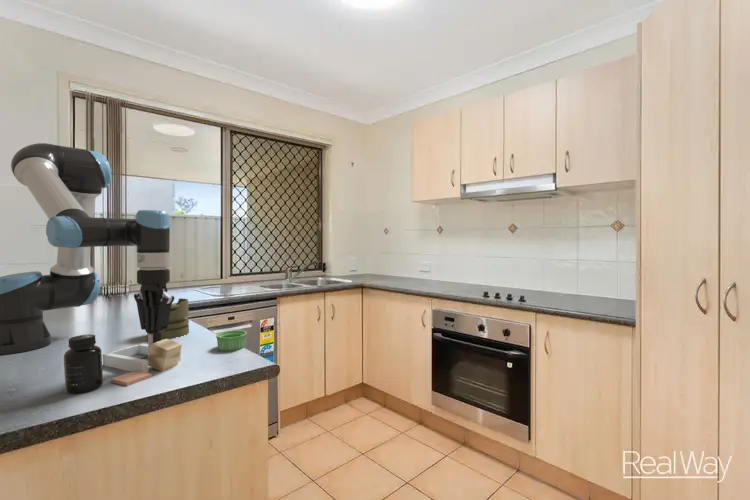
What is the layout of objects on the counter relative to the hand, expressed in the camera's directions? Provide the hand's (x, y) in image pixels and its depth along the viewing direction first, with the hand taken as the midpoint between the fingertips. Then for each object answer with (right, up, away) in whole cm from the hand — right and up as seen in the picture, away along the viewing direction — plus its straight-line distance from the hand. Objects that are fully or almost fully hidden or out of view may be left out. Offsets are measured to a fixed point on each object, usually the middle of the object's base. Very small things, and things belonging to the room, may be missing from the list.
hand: (154, 356), depth 99 cm
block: (+3, -2, -1) cm, 3 cm away
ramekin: (+14, -2, +17) cm, 22 cm away
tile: (0, -3, -9) cm, 9 cm away
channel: (-5, -3, +3) cm, 6 cm away
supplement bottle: (-8, -4, -14) cm, 16 cm away
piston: (-13, -2, +32) cm, 35 cm away
